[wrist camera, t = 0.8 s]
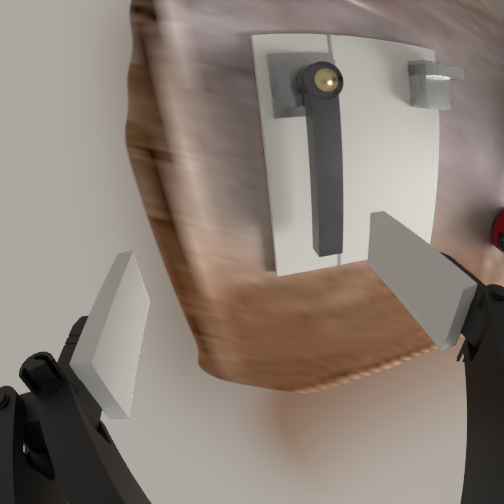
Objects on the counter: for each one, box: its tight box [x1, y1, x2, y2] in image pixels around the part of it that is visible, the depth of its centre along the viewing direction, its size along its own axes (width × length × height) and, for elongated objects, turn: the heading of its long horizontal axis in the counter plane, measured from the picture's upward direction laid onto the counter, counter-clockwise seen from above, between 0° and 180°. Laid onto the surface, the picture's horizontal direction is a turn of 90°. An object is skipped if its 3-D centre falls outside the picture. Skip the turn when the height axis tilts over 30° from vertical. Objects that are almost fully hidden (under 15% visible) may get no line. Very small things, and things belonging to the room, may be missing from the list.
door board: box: [250, 34, 439, 276], centre depth 28 cm, size 20×24×1 cm
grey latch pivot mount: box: [266, 53, 336, 119], centre depth 22 cm, size 6×6×3 cm
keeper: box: [407, 60, 465, 111], centre depth 22 cm, size 4×5×5 cm
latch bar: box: [297, 61, 343, 257], centre depth 23 cm, size 16×3×2 cm, turn 7°
